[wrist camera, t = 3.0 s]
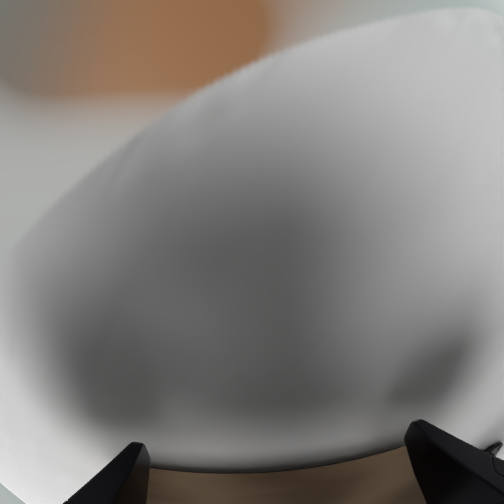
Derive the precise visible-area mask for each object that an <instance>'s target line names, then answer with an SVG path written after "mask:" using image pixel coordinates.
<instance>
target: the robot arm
mask: <svg viewBox="0 0 504 504" xmlns="http://www.w3.org/2000/svg"><path fill="white" fill-rule="evenodd" d="M404 442H405V445H406V448H407V452H408V455H409V458H410V462H411V465H412V469H413V472H414V475H415V477H416V479H417V482H418V484H419V487H420V489H421V491H422V494H423V496H424V499H425V501H426V504H504V460H501V459H499V458H497V457H496V456H495V455H496V454H497V452H498V451H499V450H500V448H501V447H502V445H503V444H502V442H499V443H497V444H496V445H494V446H493V447H491V448H489V449H488V450H486V451H485V452H484V451H482V450H480V449H478V448H476V447H474V446H472V445H470V444H468V443H466V442H464V441H462V440H460V439H458V438H456V437H454V436H453V435H451V434H449V433H447V432H445V431H443V430H441V429H439V428H438V427H436V426H434V425H432V424H430V423H428V422H427V421H425V420H422V419H419V420H416V421H413V422H412V423H411V424H410V426H409V428H408V430H407V432H406V434H405V437H404ZM149 472H150V456H149V454H148V451H147V449H146V446H145V445H144V444H143V443H138V442H131V443H130V444H129V445H128V446H127V447H126V448H125V449H124V450H123V451H121V452H120V453H119V454H118V455H117V456H116V457H115V458H114V459H113V460H112V461H111V462H110V463H109V464H107V465H106V466H105V467H104V468H103V469H102V470H101V471H100V472H99V473H98V474H96V475H95V476H94V477H93V478H92V479H91V480H90V481H89V482H87V483H86V484H85V485H84V486H83V487H82V488H81V489H79V490H78V491H77V492H76V493H75V494H74V495H72V496H71V497H70V498H69V499H68V501H65V502H64V503H63V504H146V501H147V494H148V482H149Z"/></svg>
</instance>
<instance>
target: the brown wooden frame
mask: <svg viewBox="0 0 504 504" xmlns="http://www.w3.org/2000/svg"><path fill="white" fill-rule="evenodd" d="M146 504H426V501H425V499H424V496H423V494H422V491H421V489H420V487H419V484H418V482H417V479H416V477H415V475H414V472H413V469H412V465H411V462H410V458H409V455H408V452H407V448H406V446H404V447H401V448H397V449H394V450H391V451H387V452H384V453H380V454H377V455H373V456H369V457H365V458H361V459H357V460H352V461H348V462H343V463H338V464H333V465H327V466H321V467H315V468H308V469H300V470H291V471H281V472H269V473H249V474H211V473H191V472H179V471H169V470H160V469H153V468H150V472H149V482H148V494H147V501H146Z"/></svg>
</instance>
